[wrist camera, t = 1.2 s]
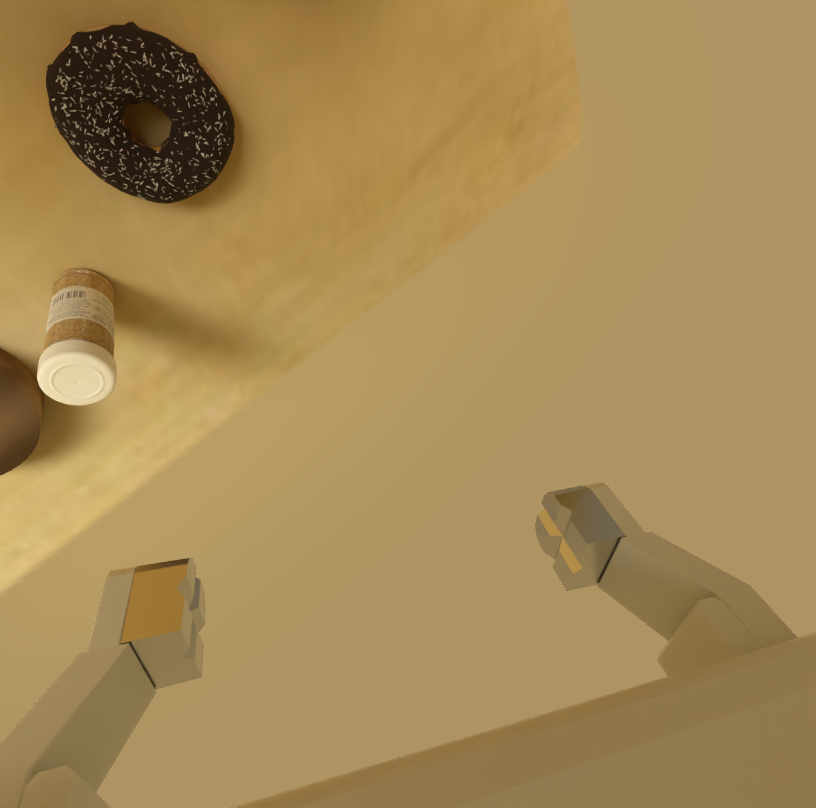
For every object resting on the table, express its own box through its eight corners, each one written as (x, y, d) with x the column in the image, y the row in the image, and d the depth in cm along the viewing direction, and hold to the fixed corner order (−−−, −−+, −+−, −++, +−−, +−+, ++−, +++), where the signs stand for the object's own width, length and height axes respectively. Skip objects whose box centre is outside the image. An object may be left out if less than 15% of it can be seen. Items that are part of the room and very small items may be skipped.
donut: (199, 214, 43) (205, 232, 40) (31, 143, 35) (24, 159, 33) (249, 85, 38) (259, 95, 36) (69, -26, 31) (64, -25, 28)
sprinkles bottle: (60, 314, 43) (45, 411, 34) (46, 265, 40) (27, 356, 31) (120, 313, 45) (121, 404, 36) (111, 266, 42) (110, 352, 33)
